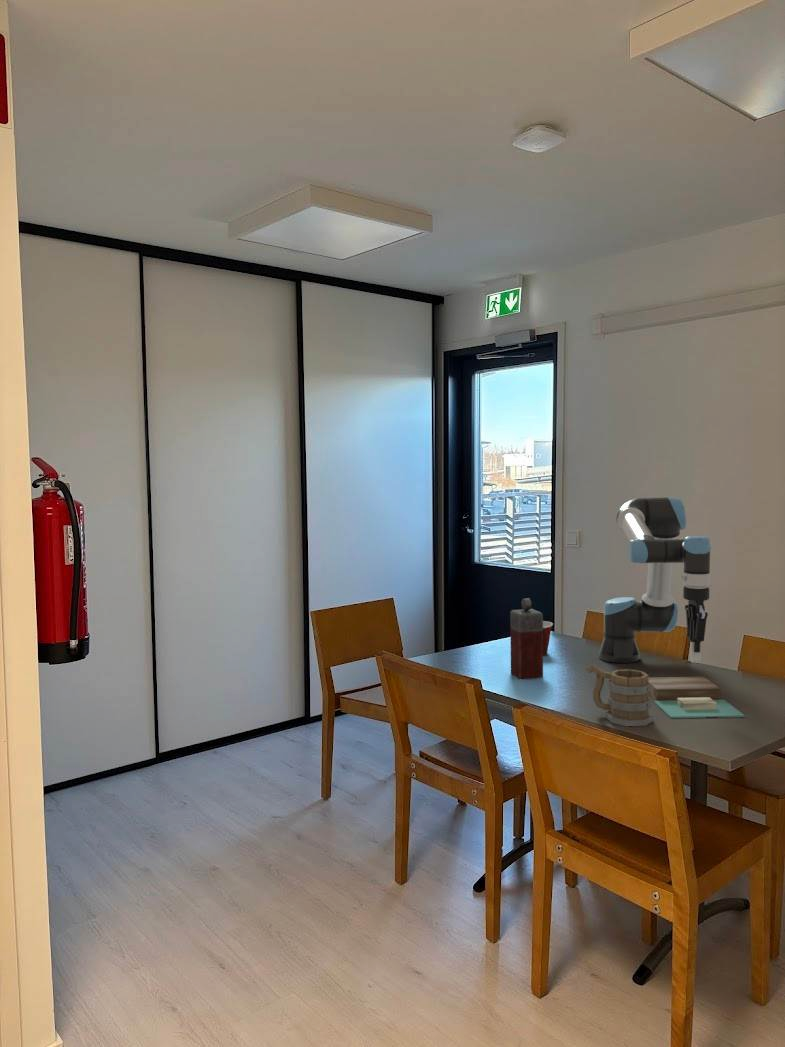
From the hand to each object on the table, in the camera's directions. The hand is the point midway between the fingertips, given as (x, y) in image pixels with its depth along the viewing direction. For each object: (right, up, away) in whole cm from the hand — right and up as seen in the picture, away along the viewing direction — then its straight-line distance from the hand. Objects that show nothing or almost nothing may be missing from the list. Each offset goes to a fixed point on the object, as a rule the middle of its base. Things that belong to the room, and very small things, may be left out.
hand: (695, 661), depth 254 cm
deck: (0, -13, +14) cm, 19 cm away
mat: (0, -14, -2) cm, 15 cm away
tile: (0, -12, -1) cm, 12 cm away
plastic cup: (-35, -9, +74) cm, 82 cm away
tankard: (-26, -16, -8) cm, 31 cm away
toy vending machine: (-44, -12, +41) cm, 62 cm away
